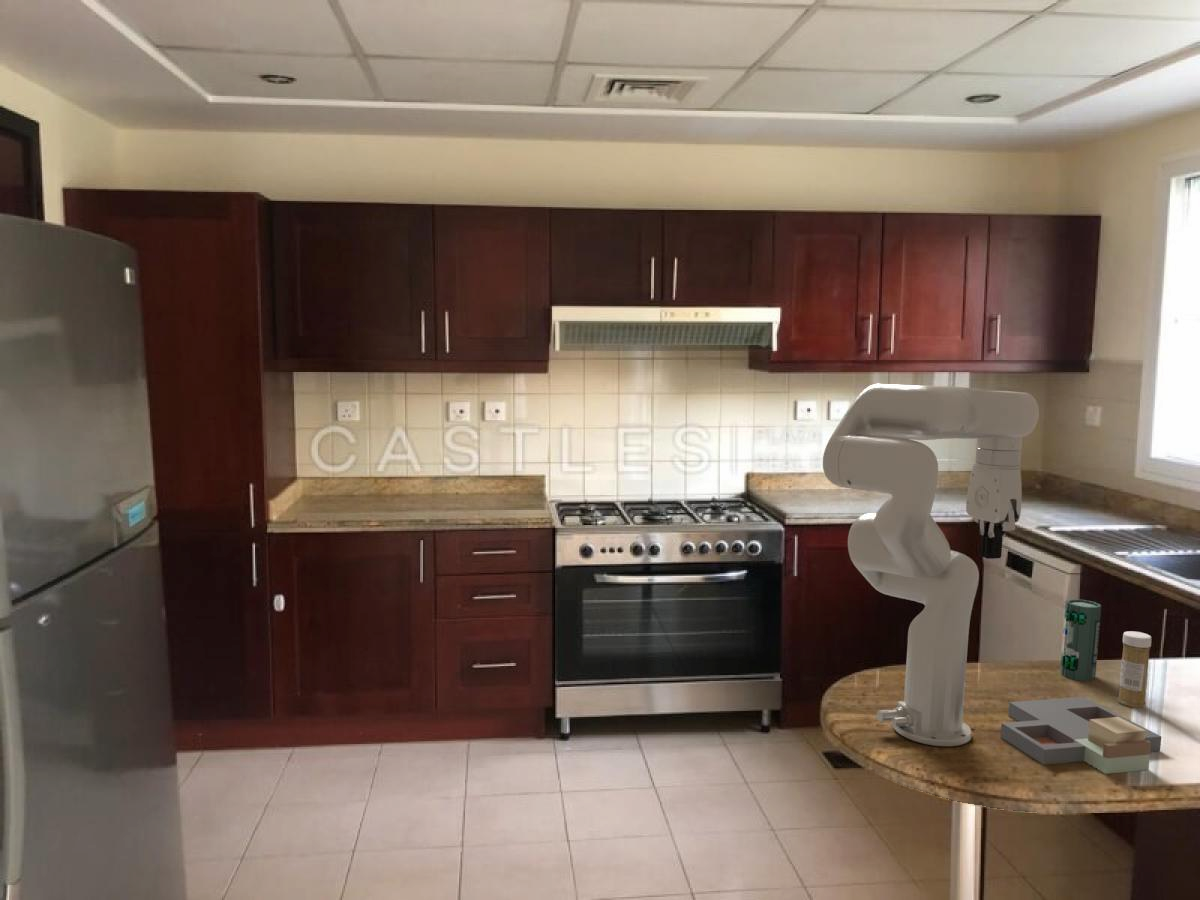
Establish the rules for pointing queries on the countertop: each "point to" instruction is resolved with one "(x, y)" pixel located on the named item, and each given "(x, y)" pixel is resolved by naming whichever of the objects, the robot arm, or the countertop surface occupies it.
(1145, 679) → the sprinkles bottle
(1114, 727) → the birch block
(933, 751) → the countertop surface
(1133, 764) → the board
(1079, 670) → the can
